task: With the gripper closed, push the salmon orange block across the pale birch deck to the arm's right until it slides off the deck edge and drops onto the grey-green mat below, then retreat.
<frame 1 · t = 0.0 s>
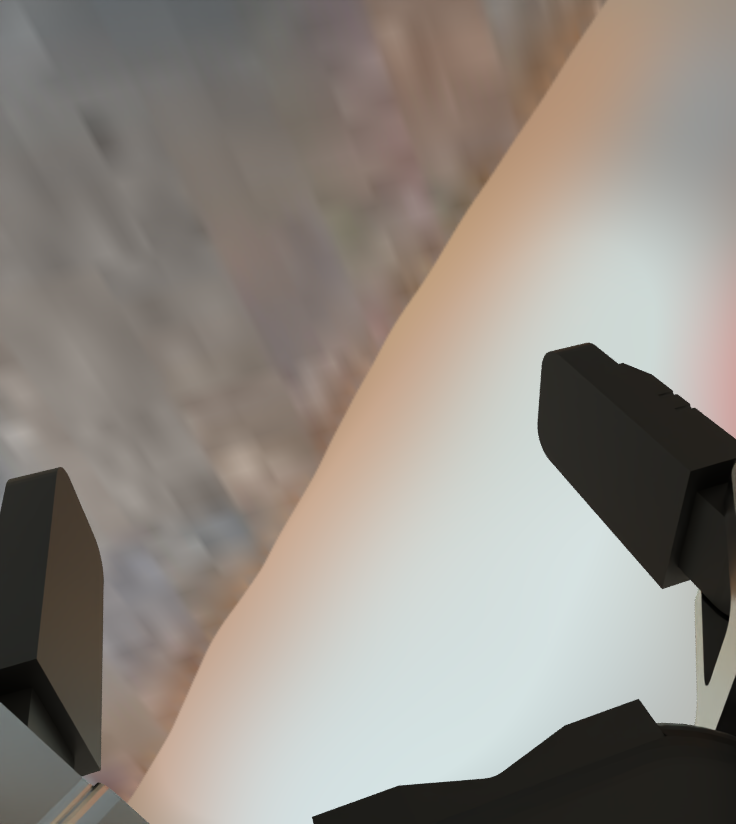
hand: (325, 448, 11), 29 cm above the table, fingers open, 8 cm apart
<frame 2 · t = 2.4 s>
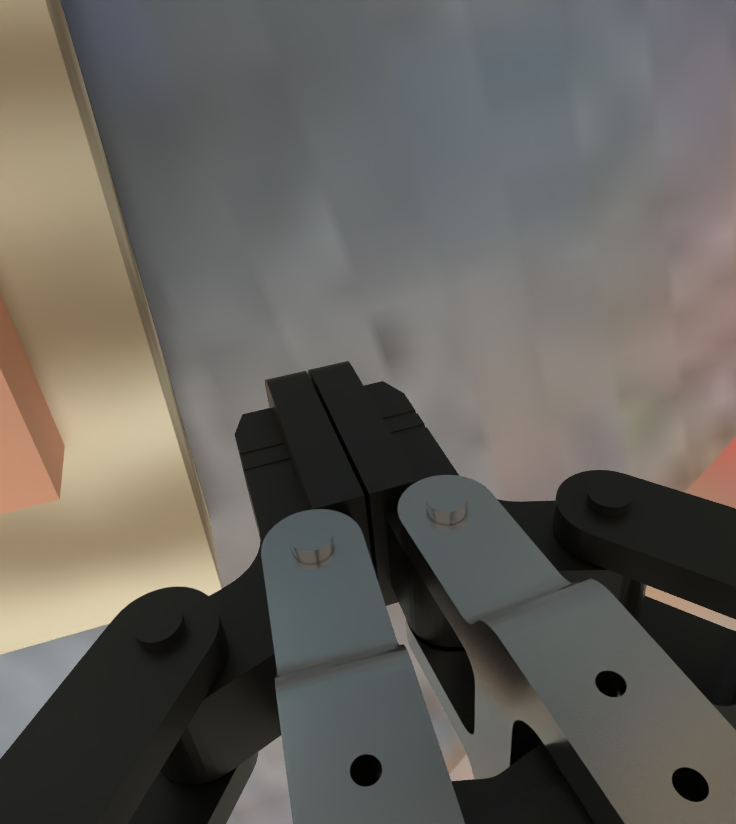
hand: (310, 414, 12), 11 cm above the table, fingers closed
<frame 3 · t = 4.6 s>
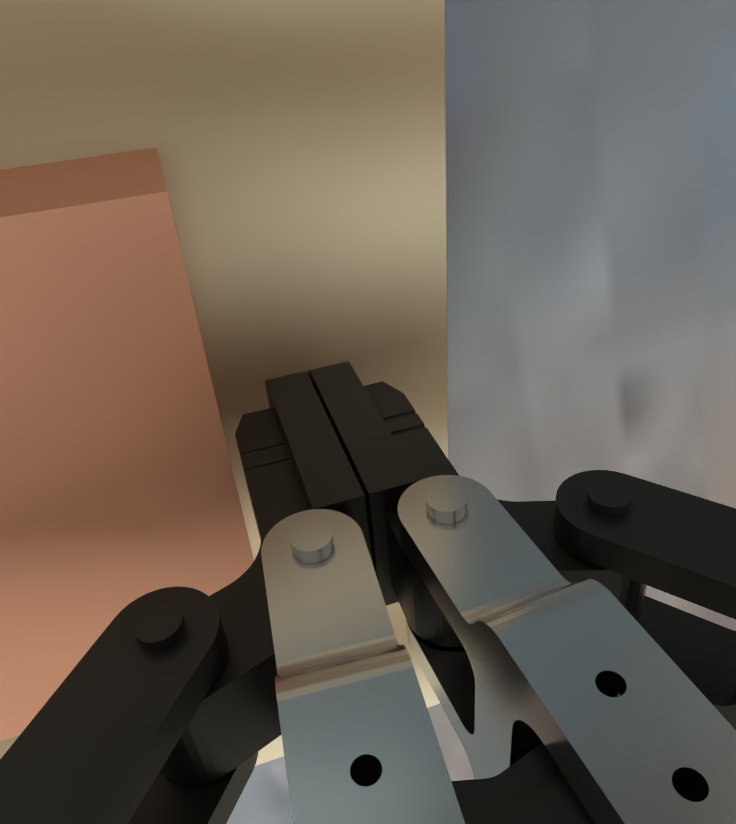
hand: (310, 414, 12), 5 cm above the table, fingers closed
deck: (98, 368, 16), on the table
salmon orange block: (45, 438, 12), point 4 cm above the table, touching deck, gripper
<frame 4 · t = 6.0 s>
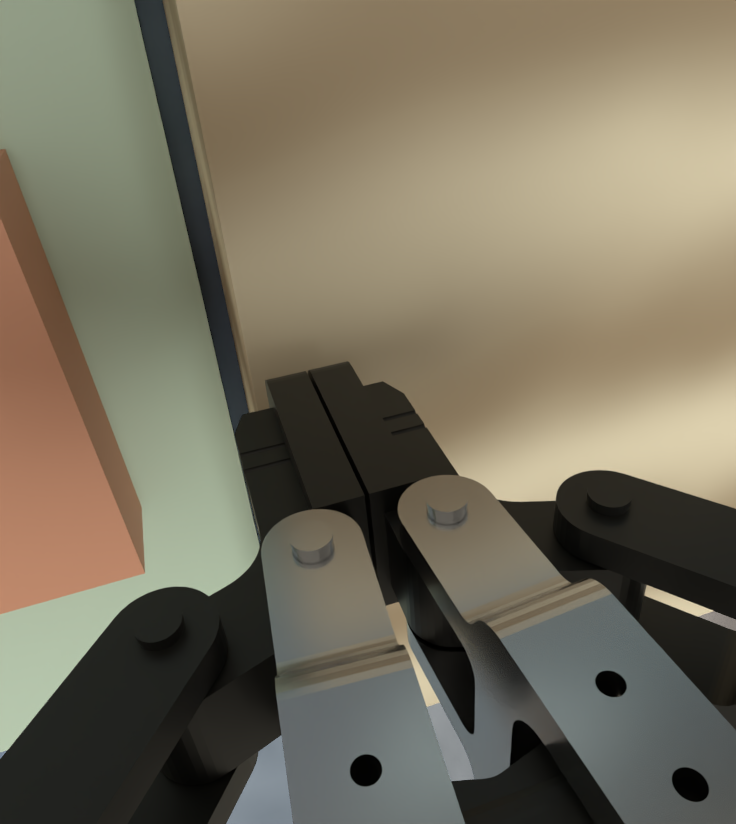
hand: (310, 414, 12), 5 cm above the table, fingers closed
deck: (499, 284, 18), on the table
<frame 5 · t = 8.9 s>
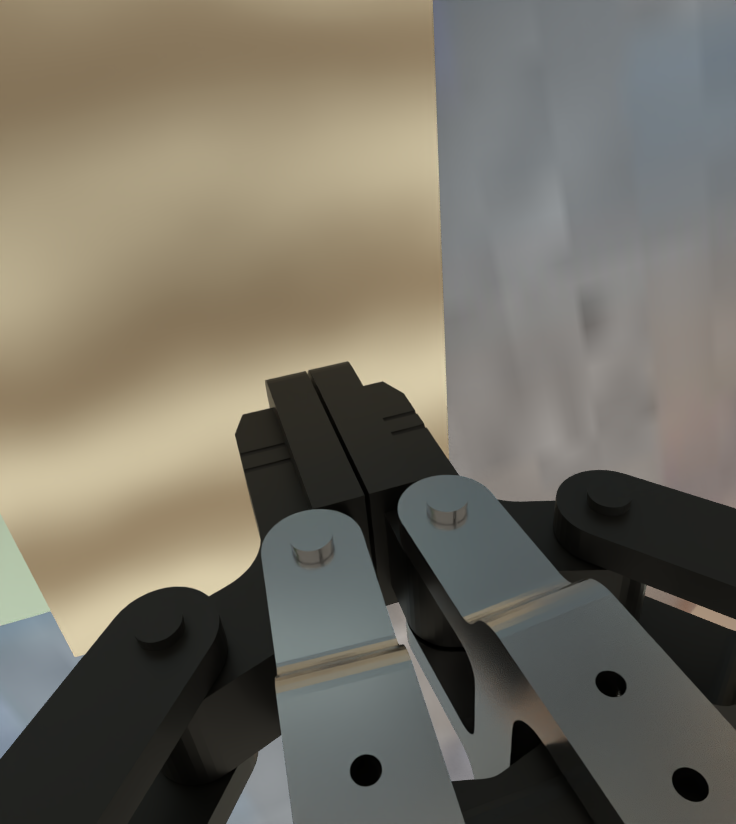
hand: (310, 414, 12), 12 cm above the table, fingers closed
deck: (192, 275, 22), on the table
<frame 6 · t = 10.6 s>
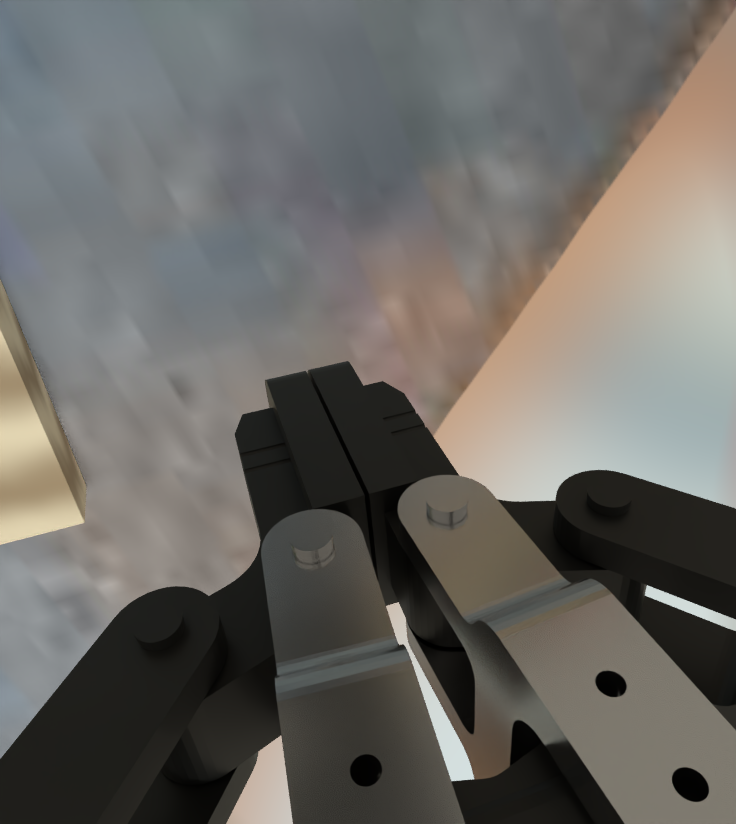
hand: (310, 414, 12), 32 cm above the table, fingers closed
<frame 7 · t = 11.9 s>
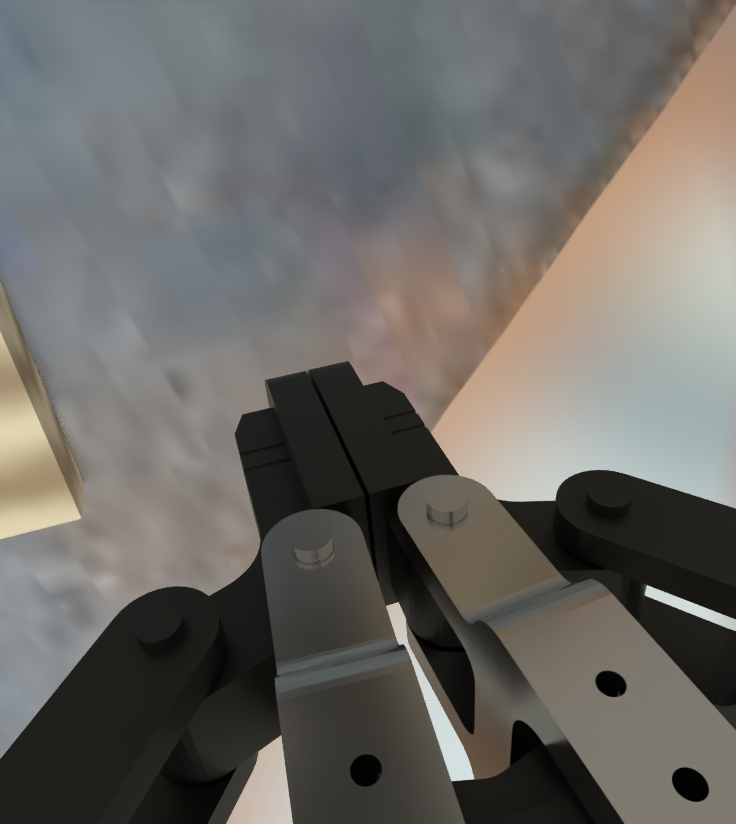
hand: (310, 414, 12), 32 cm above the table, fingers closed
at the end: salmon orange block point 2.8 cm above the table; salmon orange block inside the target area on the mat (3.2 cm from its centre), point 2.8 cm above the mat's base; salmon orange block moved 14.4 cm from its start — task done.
